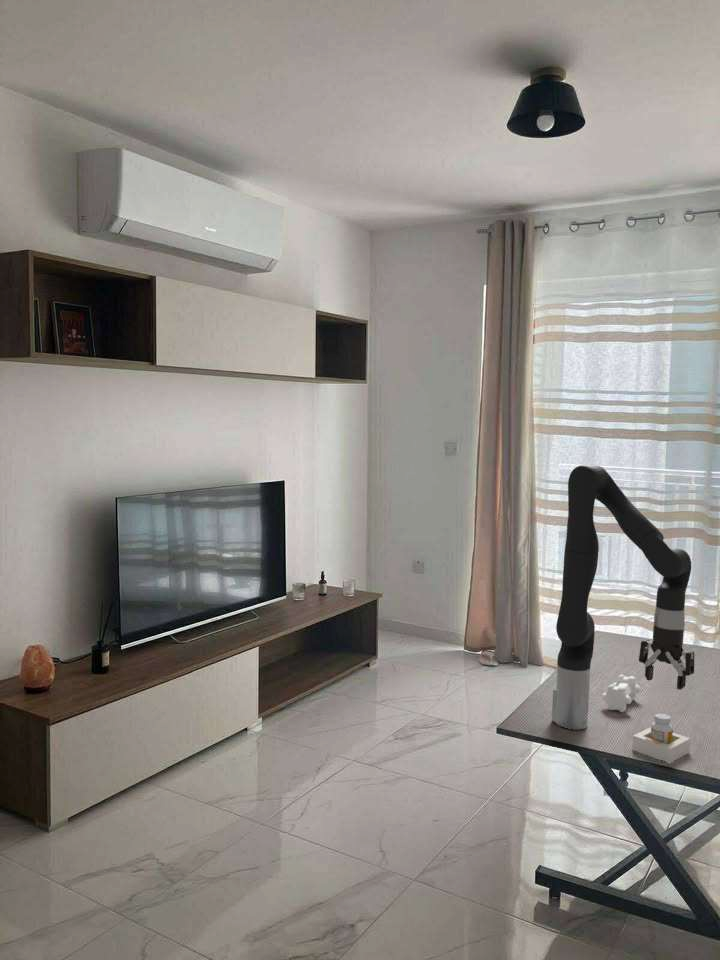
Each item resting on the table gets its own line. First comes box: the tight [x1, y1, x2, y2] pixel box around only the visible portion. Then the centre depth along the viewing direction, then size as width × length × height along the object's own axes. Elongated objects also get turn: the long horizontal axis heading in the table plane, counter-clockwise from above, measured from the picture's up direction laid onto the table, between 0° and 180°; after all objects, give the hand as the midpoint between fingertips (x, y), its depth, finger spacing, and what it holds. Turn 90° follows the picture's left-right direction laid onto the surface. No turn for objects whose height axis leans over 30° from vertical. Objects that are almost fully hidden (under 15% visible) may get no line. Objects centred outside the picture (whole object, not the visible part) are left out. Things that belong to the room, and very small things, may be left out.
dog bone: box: [601, 674, 642, 713], centre depth 247 cm, size 15×9×8 cm, turn 147°
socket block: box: [631, 726, 691, 763], centre depth 213 cm, size 11×11×4 cm
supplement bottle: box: [650, 713, 674, 745], centre depth 213 cm, size 5×5×10 cm
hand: (664, 684), depth 212 cm, fingers open, 8 cm apart
